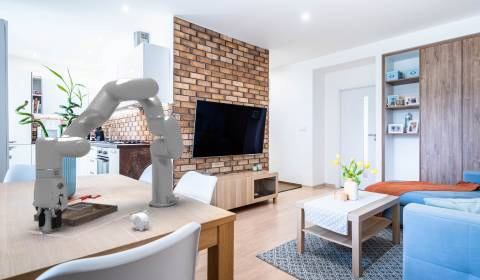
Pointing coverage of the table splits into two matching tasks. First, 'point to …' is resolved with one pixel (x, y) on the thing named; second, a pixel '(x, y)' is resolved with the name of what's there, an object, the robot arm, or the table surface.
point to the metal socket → (79, 209)
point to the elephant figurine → (140, 220)
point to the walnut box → (75, 220)
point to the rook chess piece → (48, 222)
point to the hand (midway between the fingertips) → (50, 226)
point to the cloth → (86, 198)
